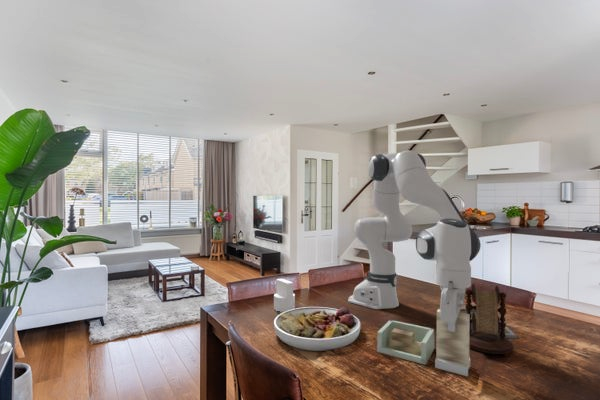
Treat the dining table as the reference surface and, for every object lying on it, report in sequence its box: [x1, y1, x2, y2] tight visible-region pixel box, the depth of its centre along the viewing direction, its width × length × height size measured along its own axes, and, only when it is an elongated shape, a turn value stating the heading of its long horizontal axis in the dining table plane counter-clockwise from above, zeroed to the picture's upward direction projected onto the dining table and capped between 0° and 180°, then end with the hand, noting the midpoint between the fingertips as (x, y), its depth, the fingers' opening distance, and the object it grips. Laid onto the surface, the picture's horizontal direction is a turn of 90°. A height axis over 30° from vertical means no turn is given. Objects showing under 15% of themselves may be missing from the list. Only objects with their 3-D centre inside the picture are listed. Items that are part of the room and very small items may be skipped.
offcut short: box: [391, 328, 414, 344], centre depth 100 cm, size 6×3×2 cm, turn 57°
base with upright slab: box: [273, 278, 296, 313], centre depth 140 cm, size 9×9×12 cm
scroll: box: [465, 283, 514, 358], centre depth 104 cm, size 15×15×20 cm
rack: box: [376, 319, 435, 366], centre depth 100 cm, size 14×12×7 cm
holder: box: [434, 356, 471, 377], centre depth 90 cm, size 8×6×3 cm
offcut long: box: [390, 338, 421, 356], centre depth 99 cm, size 9×3×3 cm, turn 57°
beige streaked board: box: [435, 308, 470, 370], centre depth 90 cm, size 8×2×14 cm, turn 58°
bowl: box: [273, 306, 361, 352], centre depth 114 cm, size 30×30×8 cm
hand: (452, 328), depth 90 cm, fingers closed on beige streaked board, 2 cm apart
